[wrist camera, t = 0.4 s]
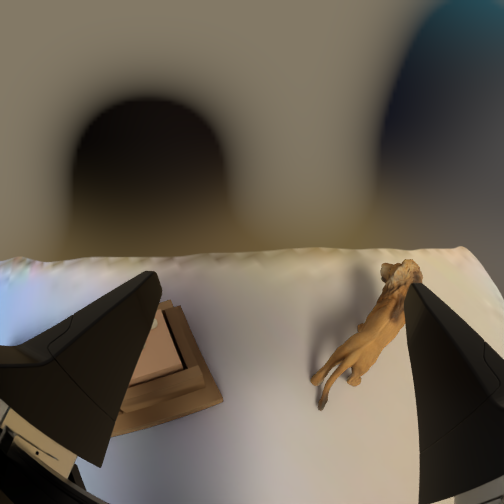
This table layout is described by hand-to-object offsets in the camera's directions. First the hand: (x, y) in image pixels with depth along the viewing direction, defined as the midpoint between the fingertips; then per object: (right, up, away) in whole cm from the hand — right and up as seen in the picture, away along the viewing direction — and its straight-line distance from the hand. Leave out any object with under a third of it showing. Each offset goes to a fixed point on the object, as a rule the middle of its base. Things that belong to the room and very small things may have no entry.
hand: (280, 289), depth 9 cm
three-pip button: (-9, -7, +11) cm, 16 cm away
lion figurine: (+10, -9, +16) cm, 21 cm away
